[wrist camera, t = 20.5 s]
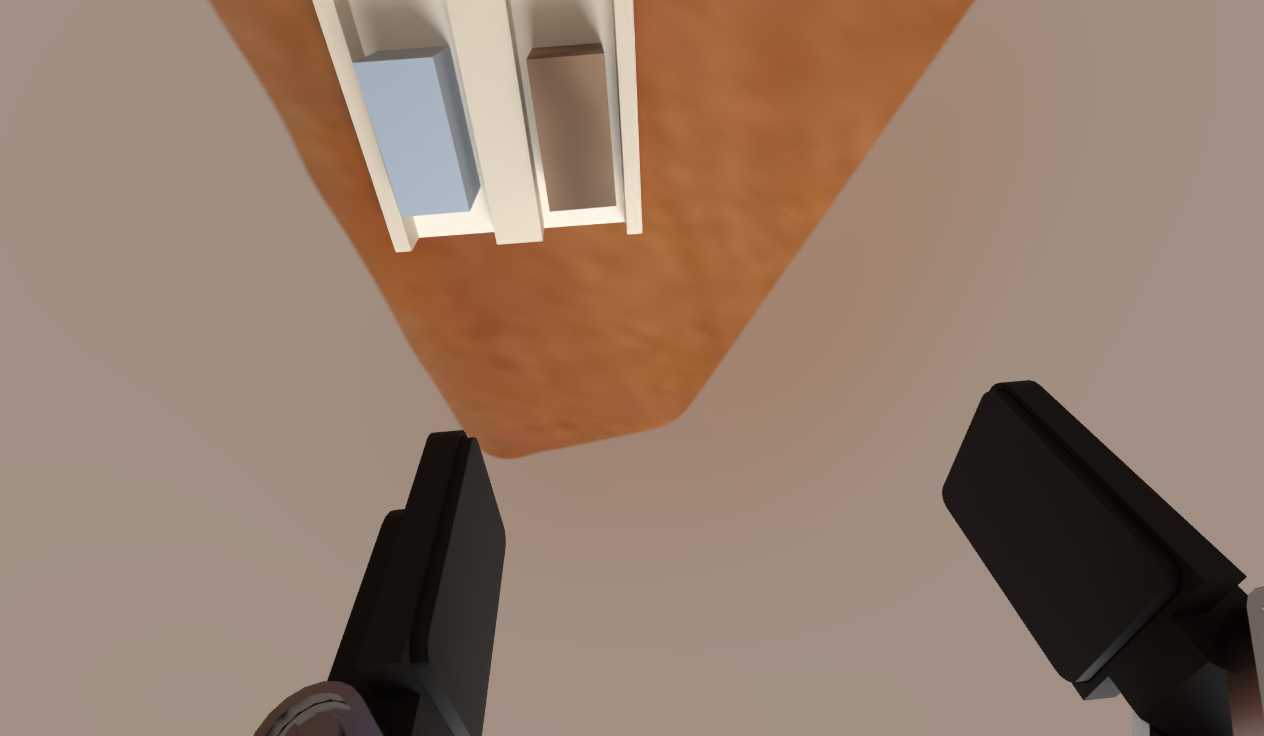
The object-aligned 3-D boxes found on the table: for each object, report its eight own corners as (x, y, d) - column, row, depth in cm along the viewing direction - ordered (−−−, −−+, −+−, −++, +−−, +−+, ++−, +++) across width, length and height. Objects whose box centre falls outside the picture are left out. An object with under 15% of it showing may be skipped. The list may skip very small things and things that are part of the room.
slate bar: (449, 45, 31) (432, 57, 28) (480, 186, 36) (469, 211, 32) (378, 51, 31) (352, 63, 27) (419, 191, 36) (401, 216, 32)
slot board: (628, -28, 30) (632, -26, 28) (638, 216, 39) (642, 233, 36) (331, -9, 30) (310, -6, 28) (407, 234, 38) (395, 252, 36)
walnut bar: (601, 42, 32) (604, 53, 28) (612, 181, 36) (616, 206, 33) (532, 48, 32) (526, 59, 28) (552, 186, 36) (549, 211, 33)
